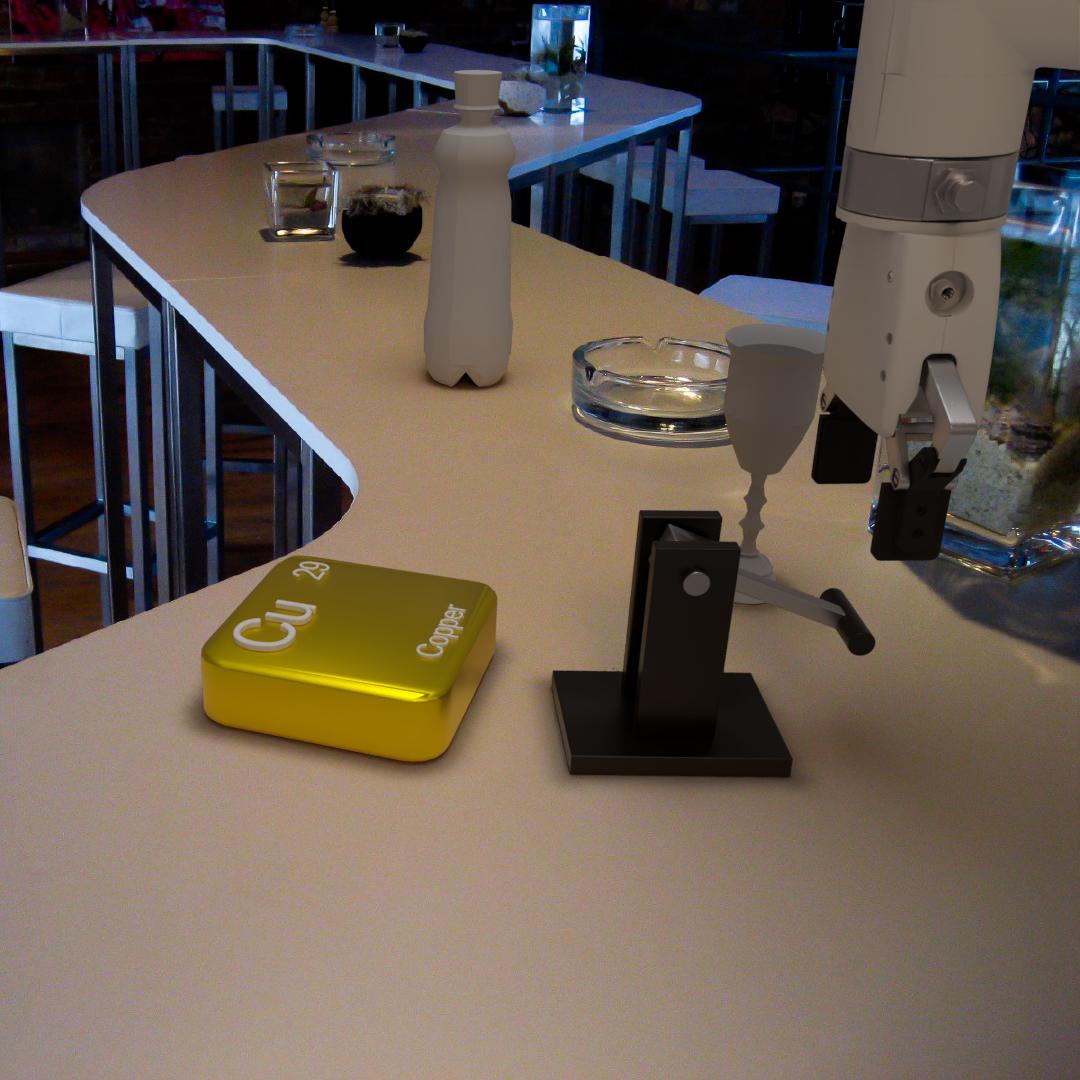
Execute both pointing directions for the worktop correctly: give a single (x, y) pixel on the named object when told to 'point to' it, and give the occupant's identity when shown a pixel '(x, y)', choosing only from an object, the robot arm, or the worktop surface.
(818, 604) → the lever
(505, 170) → the bottle
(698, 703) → the bracket
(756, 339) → the chalice
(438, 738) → the element tile
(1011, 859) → the worktop surface
